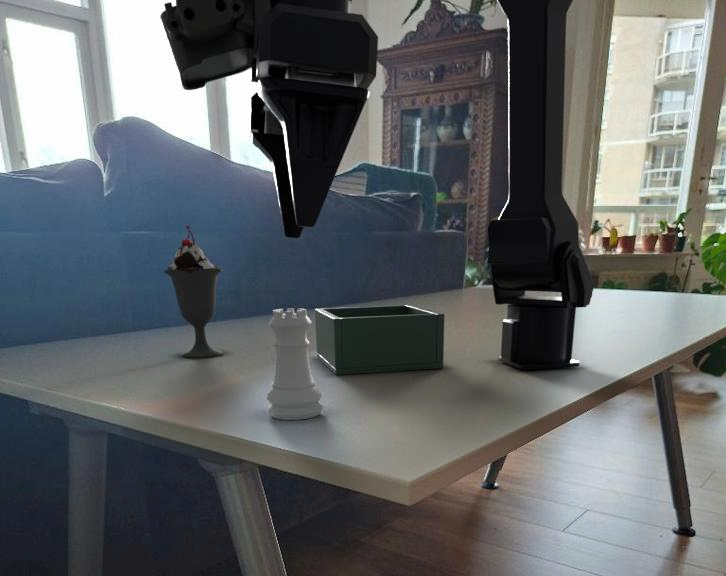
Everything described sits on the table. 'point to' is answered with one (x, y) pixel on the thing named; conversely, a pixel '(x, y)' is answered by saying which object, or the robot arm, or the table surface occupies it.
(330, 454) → the table surface
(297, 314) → the rook chess piece
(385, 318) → the bin
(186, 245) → the sundae
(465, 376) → the table surface
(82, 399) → the table surface
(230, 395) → the table surface
